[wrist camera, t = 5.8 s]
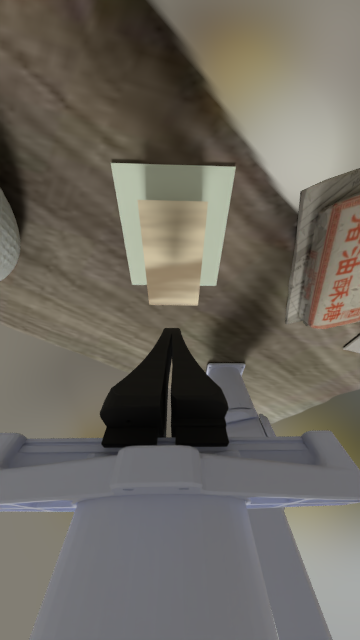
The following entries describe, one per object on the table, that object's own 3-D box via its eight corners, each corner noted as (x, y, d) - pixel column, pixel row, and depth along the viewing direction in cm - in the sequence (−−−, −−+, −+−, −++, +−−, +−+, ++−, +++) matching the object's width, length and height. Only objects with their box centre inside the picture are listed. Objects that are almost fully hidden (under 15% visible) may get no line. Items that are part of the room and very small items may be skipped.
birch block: (197, 305, 18) (207, 201, 12) (149, 304, 18) (137, 199, 12) (194, 292, 21) (201, 206, 16) (153, 291, 21) (146, 204, 15)
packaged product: (380, 322, 20) (301, 339, 21) (346, 305, 24) (282, 320, 25) (501, 120, 10) (338, 178, 12) (408, 149, 14) (297, 189, 16)
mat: (215, 285, 21) (216, 285, 21) (132, 283, 21) (132, 284, 20) (234, 167, 14) (235, 166, 14) (111, 164, 14) (110, 162, 14)
